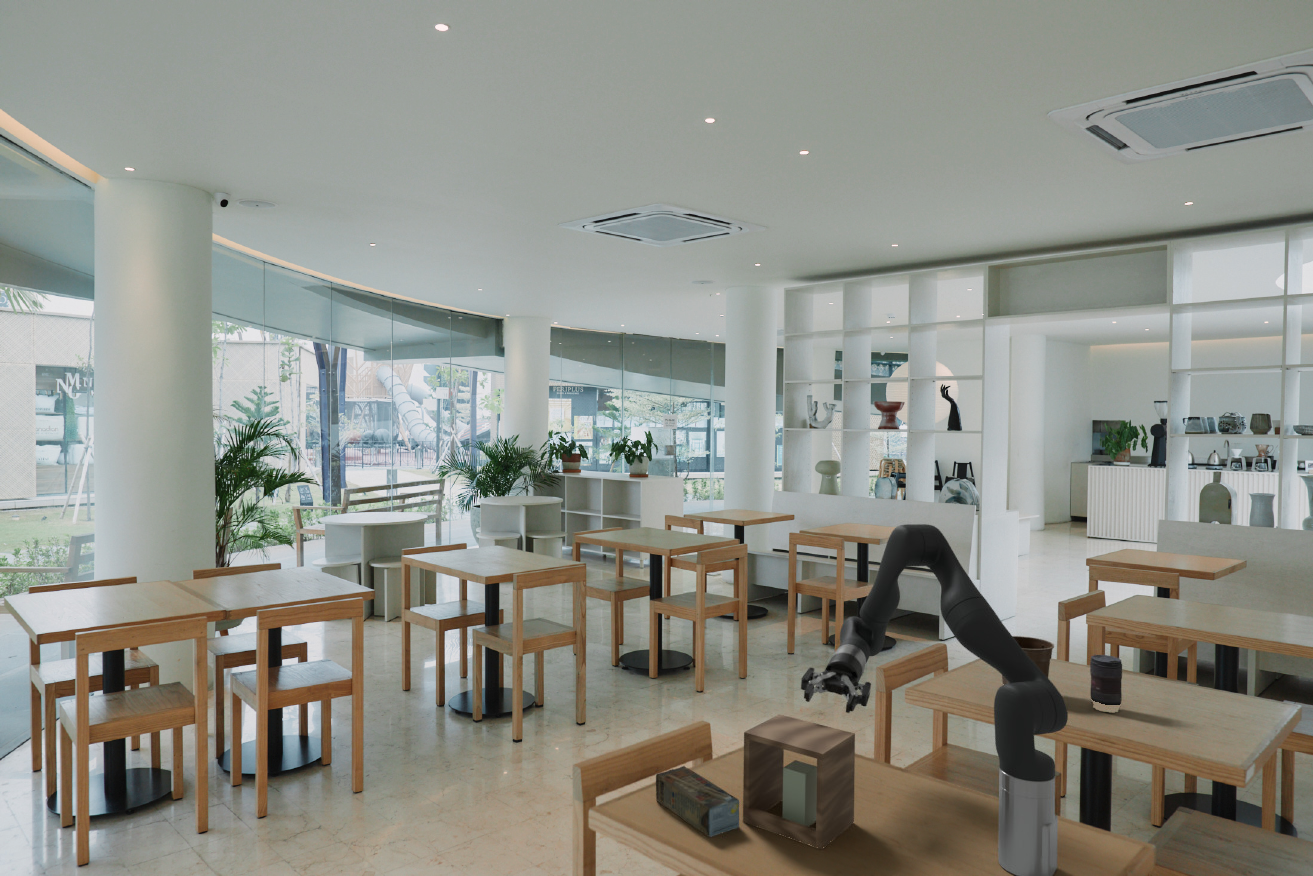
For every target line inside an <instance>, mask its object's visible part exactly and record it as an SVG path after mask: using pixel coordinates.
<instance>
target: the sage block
mask: <svg viewBox="0 0 1313 876" xmlns="http://www.w3.org/2000/svg"><path fill="white" fill-rule="evenodd" d="M816 796H817V765H813V764H811V763H807V762H804V761H803V762H802V761H799V760H798V759H797V760H793V761H791V762H790V763H788V764H787V765H785V766H783V800H782V818H785V819H788V820H791V821H794V822H797V823H799V824H802V825H805V826H808V827H811V826H812V825H814V824H815V823H816V822H815V821H816ZM814 822H815V823H814ZM810 825H811V826H810Z"/></svg>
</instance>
